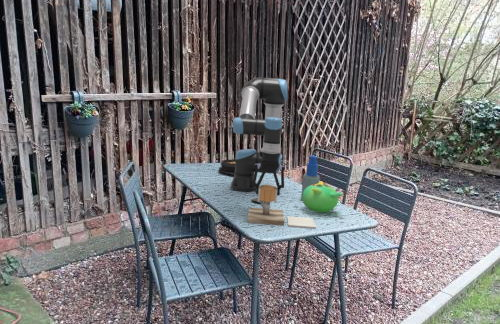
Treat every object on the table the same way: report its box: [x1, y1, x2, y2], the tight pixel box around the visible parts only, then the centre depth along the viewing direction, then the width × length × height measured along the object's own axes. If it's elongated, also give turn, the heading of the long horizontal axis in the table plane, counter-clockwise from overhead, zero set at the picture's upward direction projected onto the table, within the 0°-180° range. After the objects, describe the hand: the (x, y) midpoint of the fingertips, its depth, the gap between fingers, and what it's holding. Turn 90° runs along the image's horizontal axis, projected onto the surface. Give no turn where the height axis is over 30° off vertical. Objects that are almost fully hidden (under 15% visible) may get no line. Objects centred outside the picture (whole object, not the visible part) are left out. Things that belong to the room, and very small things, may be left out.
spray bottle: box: [300, 154, 321, 202], centre depth 208 cm, size 9×9×25 cm
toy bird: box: [301, 180, 344, 213], centre depth 191 cm, size 18×17×15 cm
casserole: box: [218, 159, 236, 176], centre depth 263 cm, size 25×19×8 cm
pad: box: [286, 215, 317, 230], centre depth 173 cm, size 12×12×1 cm
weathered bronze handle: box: [251, 197, 264, 205], centre depth 194 cm, size 22×3×7 cm
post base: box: [247, 201, 285, 226], centre depth 175 cm, size 16×16×12 cm
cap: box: [259, 184, 277, 203], centre depth 174 cm, size 7×7×6 cm
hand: (266, 201), depth 175 cm, fingers closed on cap, 7 cm apart
